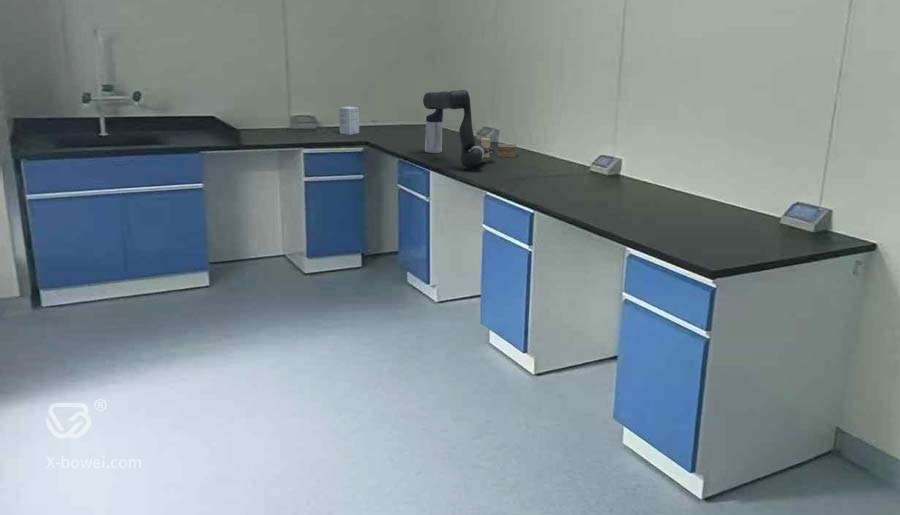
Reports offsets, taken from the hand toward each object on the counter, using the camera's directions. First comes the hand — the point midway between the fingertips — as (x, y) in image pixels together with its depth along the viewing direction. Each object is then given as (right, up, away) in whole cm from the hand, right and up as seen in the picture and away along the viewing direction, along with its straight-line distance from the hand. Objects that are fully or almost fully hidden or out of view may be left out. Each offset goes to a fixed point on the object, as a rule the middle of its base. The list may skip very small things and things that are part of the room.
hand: (482, 148), depth 399 cm
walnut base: (+14, -2, +16) cm, 22 cm away
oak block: (+2, -3, +11) cm, 11 cm away
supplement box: (-84, +22, +86) cm, 122 cm away
